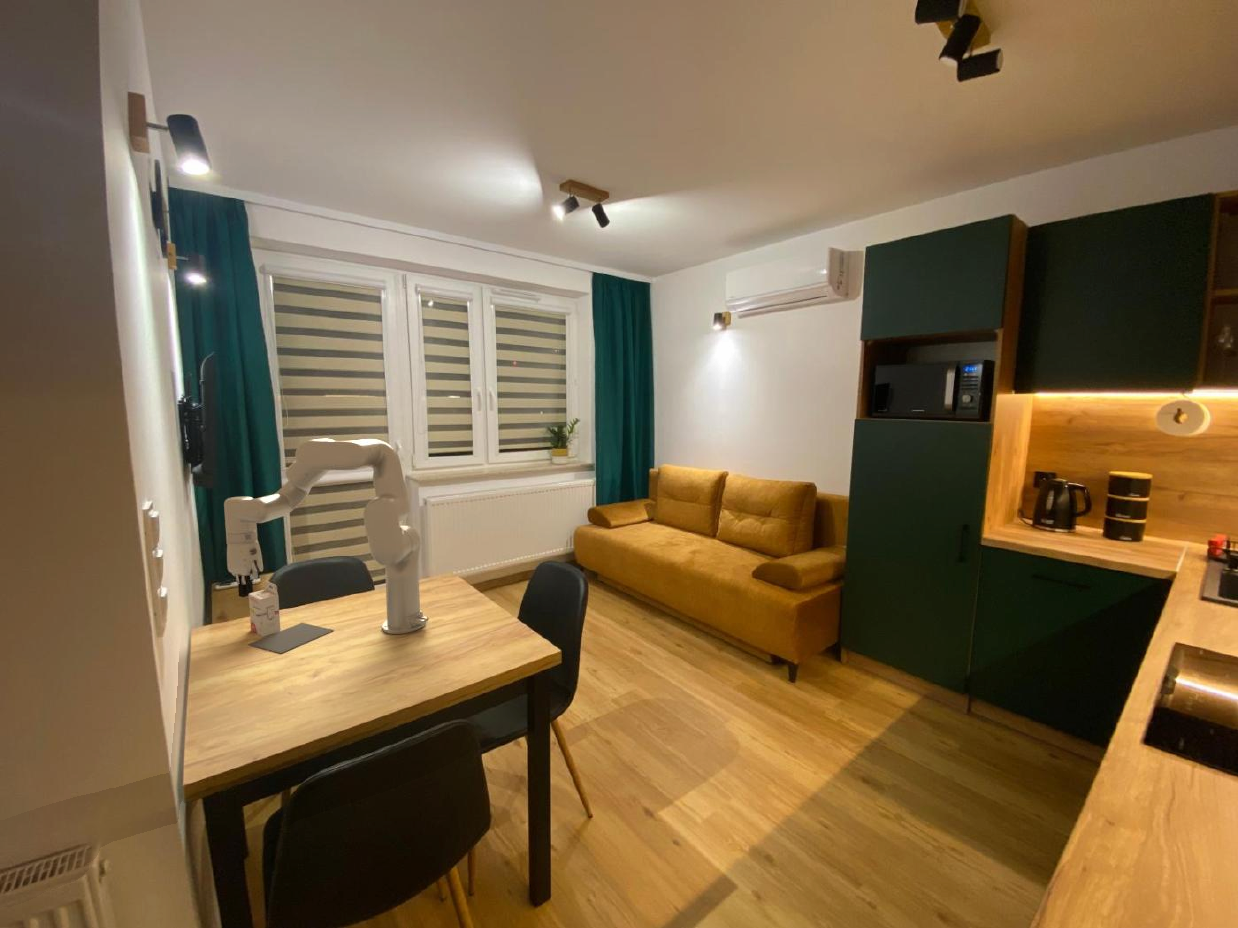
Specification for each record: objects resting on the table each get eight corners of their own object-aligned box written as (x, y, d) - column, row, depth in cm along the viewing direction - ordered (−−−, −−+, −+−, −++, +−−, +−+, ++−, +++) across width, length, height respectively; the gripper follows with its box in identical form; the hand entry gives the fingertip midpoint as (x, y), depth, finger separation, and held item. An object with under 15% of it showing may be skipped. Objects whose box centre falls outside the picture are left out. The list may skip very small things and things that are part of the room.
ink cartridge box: (249, 630, 151) (246, 583, 150) (268, 624, 156) (265, 579, 154) (262, 637, 147) (259, 589, 146) (281, 631, 151) (278, 584, 150)
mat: (333, 630, 152) (333, 629, 152) (281, 653, 137) (281, 652, 137) (302, 623, 157) (302, 622, 157) (248, 644, 142) (248, 643, 142)
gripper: (270, 536, 152) (274, 594, 154) (239, 532, 158) (243, 588, 160) (244, 542, 145) (248, 603, 147) (213, 537, 151) (217, 596, 153)
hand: (246, 595), depth 153 cm, fingers closed
